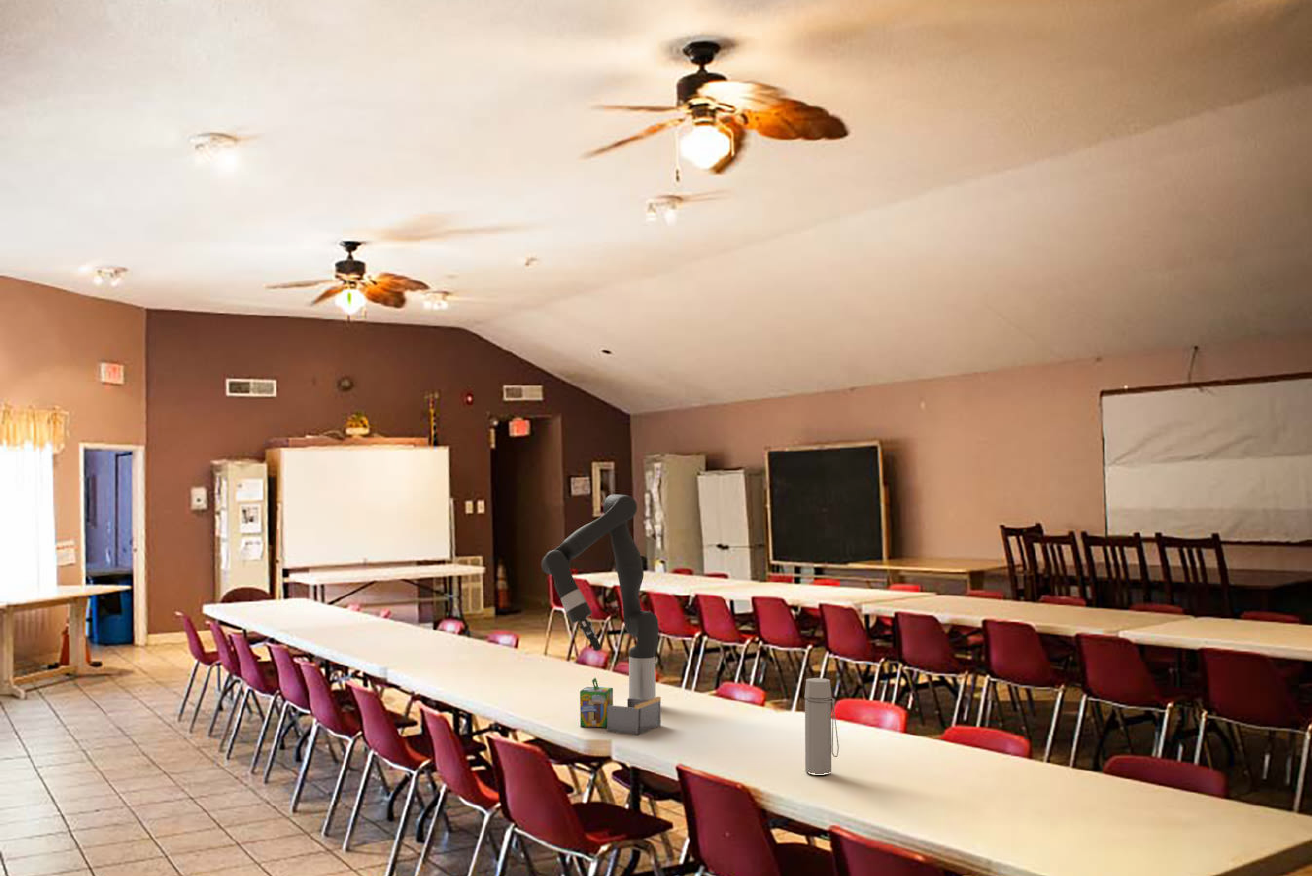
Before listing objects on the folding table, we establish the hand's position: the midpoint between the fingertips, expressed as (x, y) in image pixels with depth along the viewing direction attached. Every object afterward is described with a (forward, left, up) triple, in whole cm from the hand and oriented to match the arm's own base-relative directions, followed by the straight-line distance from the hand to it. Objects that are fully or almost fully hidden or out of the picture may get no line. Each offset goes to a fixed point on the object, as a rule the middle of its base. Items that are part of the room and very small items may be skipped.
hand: (598, 649), depth 378 cm
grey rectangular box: (+6, +17, -23) cm, 29 cm away
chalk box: (+6, +3, -23) cm, 24 cm away
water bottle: (+34, +88, -23) cm, 97 cm away
